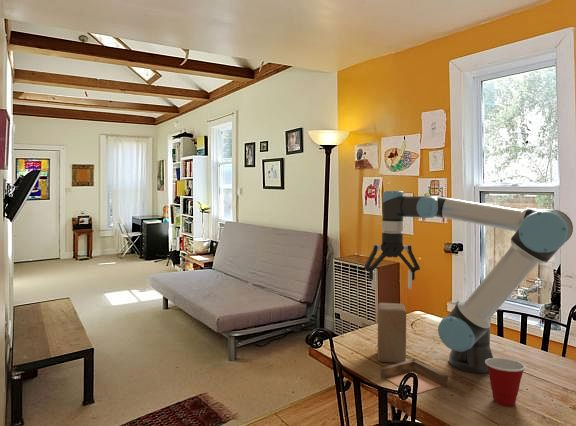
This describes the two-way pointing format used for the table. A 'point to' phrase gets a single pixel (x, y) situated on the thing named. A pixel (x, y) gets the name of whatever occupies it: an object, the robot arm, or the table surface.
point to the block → (391, 332)
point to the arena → (416, 367)
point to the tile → (423, 382)
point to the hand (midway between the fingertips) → (391, 288)
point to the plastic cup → (505, 379)
